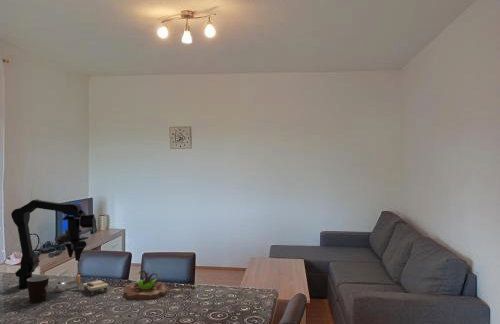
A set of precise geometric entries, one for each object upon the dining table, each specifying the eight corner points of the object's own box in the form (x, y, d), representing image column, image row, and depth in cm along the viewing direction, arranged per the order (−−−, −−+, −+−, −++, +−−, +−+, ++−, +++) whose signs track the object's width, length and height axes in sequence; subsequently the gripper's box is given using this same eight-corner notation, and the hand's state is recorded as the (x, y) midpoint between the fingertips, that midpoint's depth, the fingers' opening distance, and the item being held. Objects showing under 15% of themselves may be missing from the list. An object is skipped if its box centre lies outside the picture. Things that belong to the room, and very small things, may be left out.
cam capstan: (55, 293, 172) (55, 281, 172) (51, 290, 177) (51, 278, 177) (82, 286, 181) (82, 275, 181) (77, 284, 185) (77, 273, 185)
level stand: (69, 290, 177) (69, 280, 177) (95, 284, 186) (95, 275, 186) (80, 298, 166) (80, 287, 166) (108, 291, 175) (108, 281, 175)
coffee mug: (38, 305, 159) (38, 282, 159) (21, 303, 160) (22, 280, 161) (57, 295, 170) (58, 274, 170) (41, 294, 172) (42, 273, 172)
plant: (124, 288, 181) (124, 266, 181) (164, 284, 187) (164, 262, 187) (123, 303, 162) (123, 278, 162) (168, 298, 168) (168, 273, 168)
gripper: (50, 228, 187) (50, 258, 187) (62, 232, 174) (62, 265, 174) (73, 225, 195) (73, 254, 195) (86, 229, 182) (86, 261, 181)
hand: (73, 258), depth 186 cm, fingers open, 9 cm apart
